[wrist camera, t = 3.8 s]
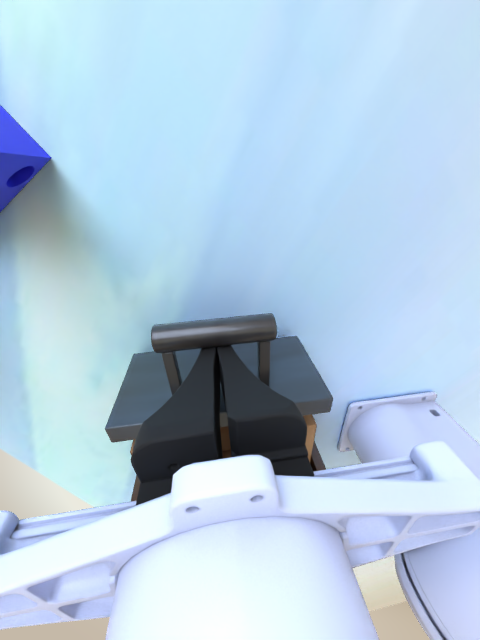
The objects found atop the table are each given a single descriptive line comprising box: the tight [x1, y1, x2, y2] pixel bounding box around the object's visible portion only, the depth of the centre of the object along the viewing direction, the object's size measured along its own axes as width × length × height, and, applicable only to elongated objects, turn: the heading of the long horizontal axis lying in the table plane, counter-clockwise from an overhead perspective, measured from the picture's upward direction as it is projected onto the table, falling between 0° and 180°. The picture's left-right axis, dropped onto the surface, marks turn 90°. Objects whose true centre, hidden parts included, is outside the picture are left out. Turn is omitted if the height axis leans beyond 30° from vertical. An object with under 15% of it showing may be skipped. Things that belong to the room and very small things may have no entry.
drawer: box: [105, 313, 333, 462], centre depth 18 cm, size 17×12×6 cm
